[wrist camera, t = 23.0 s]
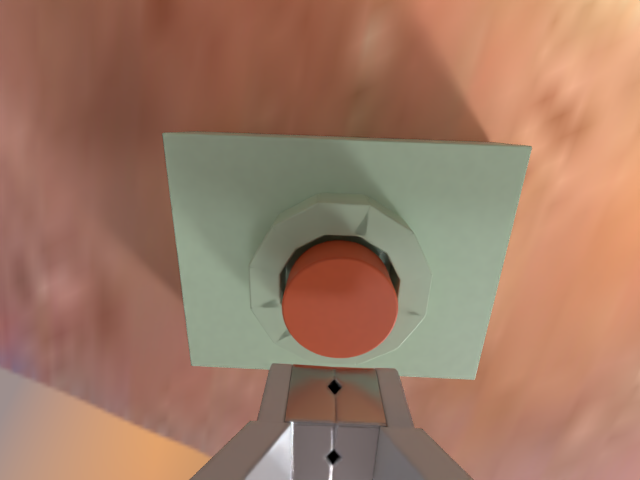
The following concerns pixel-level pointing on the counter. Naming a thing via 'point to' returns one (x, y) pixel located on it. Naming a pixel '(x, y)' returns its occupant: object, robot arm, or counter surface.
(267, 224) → the button base
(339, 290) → the release button
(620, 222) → the counter surface
